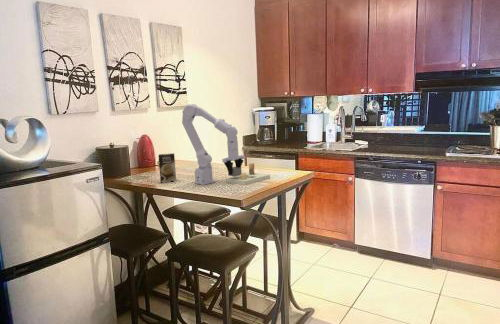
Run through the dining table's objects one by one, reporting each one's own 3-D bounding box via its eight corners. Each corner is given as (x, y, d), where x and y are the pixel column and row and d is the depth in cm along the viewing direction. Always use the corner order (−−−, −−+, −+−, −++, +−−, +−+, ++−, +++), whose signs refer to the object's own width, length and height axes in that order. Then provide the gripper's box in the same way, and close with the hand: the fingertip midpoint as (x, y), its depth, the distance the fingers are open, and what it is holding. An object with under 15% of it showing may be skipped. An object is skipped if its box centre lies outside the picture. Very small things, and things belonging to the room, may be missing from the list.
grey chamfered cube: (234, 176, 205) (234, 169, 204) (228, 175, 208) (227, 168, 208) (241, 174, 208) (241, 167, 207) (235, 173, 212) (234, 166, 211)
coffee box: (160, 183, 216) (157, 155, 213) (160, 181, 222) (158, 154, 220) (176, 181, 218) (174, 154, 215) (176, 179, 224) (174, 152, 221)
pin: (251, 174, 215) (251, 164, 214) (248, 174, 217) (247, 163, 216) (255, 174, 216) (255, 163, 216) (252, 173, 219) (251, 163, 218)
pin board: (244, 185, 198) (243, 175, 198) (225, 181, 209) (225, 173, 208) (270, 178, 212) (269, 169, 211) (251, 175, 223) (250, 167, 222)
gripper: (227, 151, 198) (229, 176, 200) (247, 147, 208) (248, 171, 210) (219, 150, 203) (220, 175, 205) (238, 147, 213) (240, 170, 215)
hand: (234, 173), depth 208 cm, fingers closed on grey chamfered cube, 5 cm apart
